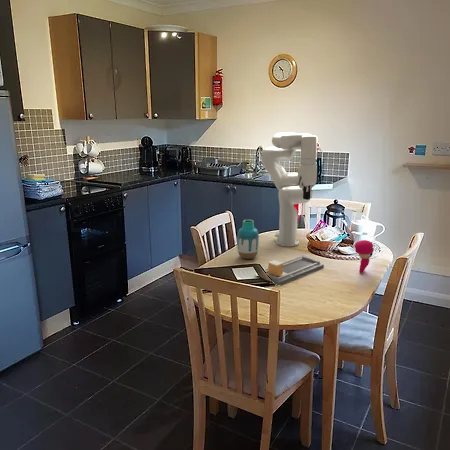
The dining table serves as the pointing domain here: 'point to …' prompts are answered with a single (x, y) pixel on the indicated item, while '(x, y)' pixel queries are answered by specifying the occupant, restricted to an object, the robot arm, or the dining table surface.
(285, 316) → the dining table surface
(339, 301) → the dining table surface
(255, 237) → the vase
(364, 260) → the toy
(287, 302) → the dining table surface
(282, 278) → the grey rectangular tray
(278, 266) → the orange cube
